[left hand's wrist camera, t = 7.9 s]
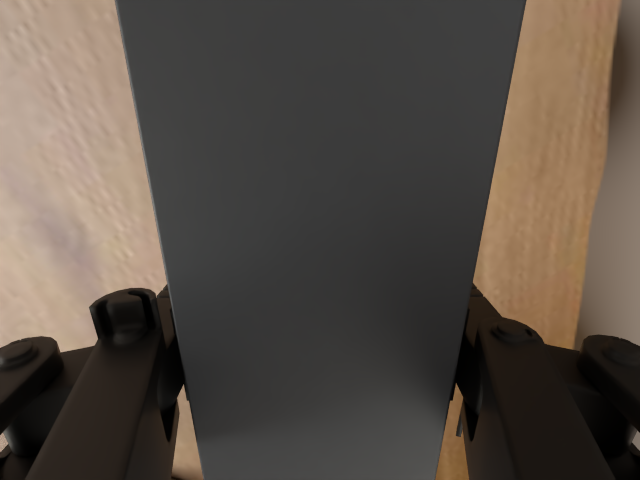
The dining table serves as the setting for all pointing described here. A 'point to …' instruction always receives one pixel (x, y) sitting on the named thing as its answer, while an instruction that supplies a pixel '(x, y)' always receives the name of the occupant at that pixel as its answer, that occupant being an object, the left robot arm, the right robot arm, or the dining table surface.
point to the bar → (320, 217)
